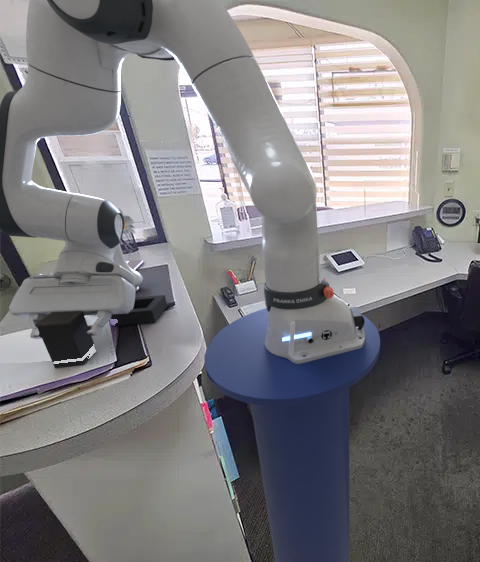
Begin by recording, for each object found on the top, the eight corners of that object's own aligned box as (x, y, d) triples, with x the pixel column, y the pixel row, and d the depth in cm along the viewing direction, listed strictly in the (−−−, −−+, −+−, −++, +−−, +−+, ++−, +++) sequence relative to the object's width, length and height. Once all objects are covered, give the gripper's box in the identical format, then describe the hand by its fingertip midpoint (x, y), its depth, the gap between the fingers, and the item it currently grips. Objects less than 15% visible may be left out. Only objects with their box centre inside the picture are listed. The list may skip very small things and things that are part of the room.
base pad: (167, 306, 86) (164, 294, 85) (155, 322, 78) (151, 310, 76) (128, 309, 84) (124, 297, 82) (111, 326, 75) (106, 314, 74)
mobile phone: (103, 274, 103) (119, 260, 116) (104, 277, 104) (120, 263, 116) (130, 272, 106) (143, 259, 119) (131, 275, 106) (144, 261, 119)
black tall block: (98, 350, 66) (82, 309, 62) (84, 365, 62) (67, 321, 58) (69, 353, 65) (52, 311, 61) (54, 368, 60) (34, 324, 57)
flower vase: (150, 277, 105) (131, 202, 96) (151, 296, 91) (129, 211, 82) (101, 284, 98) (74, 204, 89) (94, 307, 84) (61, 215, 75)
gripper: (12, 267, 61) (-14, 336, 56) (128, 265, 65) (113, 329, 60) (39, 280, 67) (17, 343, 62) (144, 277, 71) (132, 336, 65)
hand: (65, 336), depth 61 cm, fingers open, 8 cm apart
